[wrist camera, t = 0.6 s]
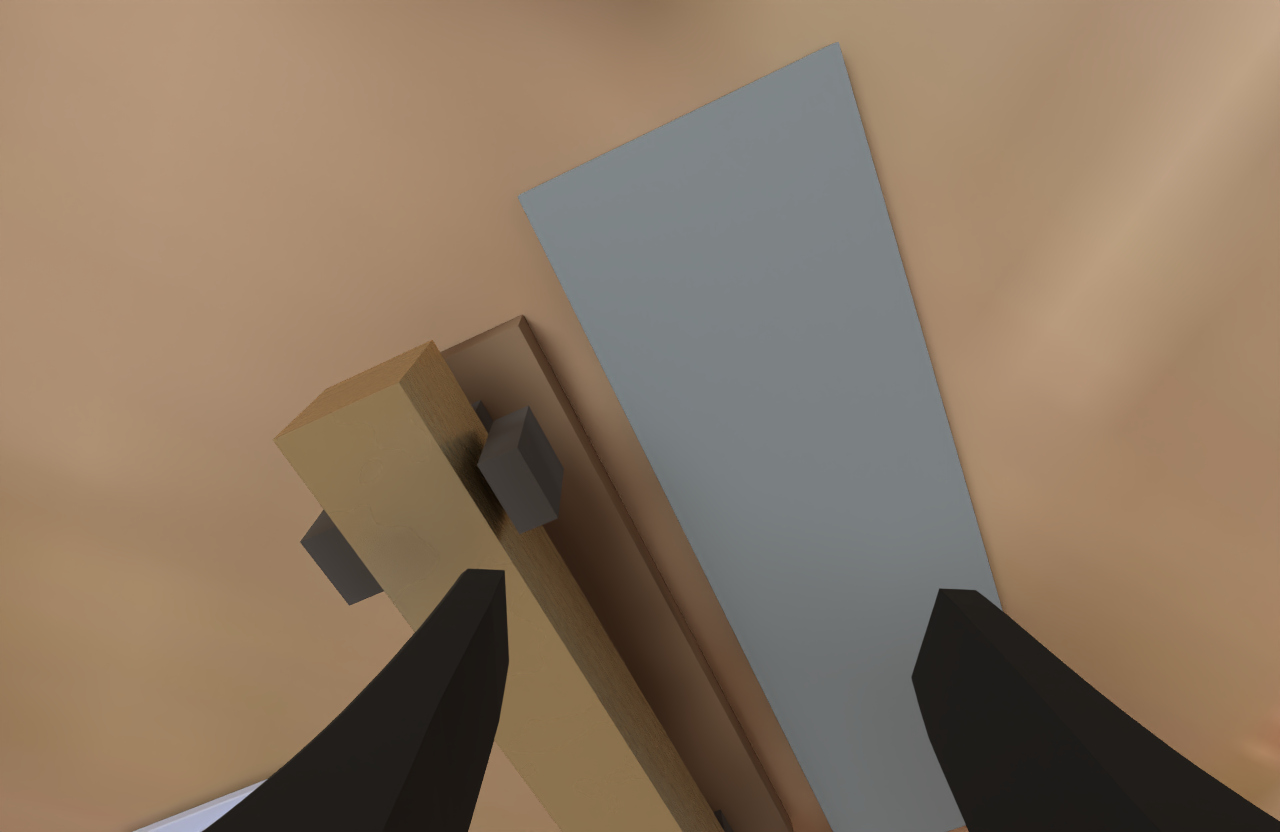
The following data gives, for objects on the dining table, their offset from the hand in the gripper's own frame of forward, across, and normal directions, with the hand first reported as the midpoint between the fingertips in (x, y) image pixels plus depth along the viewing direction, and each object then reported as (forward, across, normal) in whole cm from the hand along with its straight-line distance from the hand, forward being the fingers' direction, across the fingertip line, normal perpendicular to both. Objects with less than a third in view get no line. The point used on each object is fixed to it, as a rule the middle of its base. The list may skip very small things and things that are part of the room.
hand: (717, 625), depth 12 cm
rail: (+6, +2, +10) cm, 12 cm away
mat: (+10, -6, +6) cm, 14 cm away
